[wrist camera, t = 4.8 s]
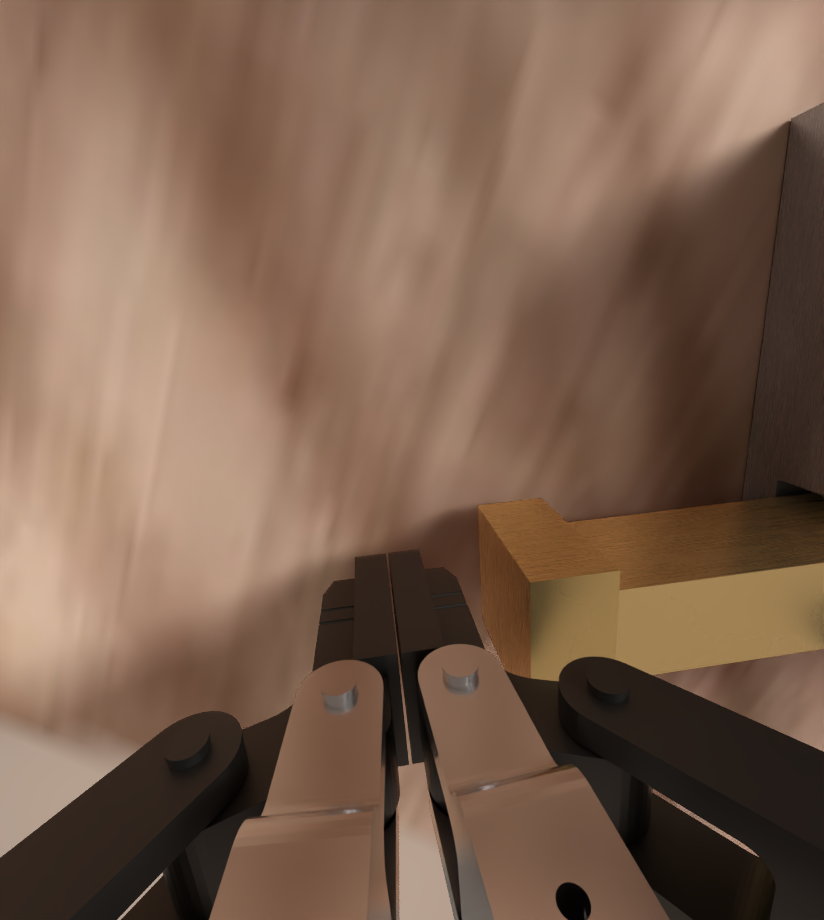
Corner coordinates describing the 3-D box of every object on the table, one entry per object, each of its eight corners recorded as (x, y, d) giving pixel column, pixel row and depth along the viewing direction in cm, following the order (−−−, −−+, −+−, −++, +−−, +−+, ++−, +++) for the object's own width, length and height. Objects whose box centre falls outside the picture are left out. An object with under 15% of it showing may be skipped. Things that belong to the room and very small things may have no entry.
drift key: (890, 457, 12) (1103, 506, 9) (866, 565, 13) (1050, 649, 9) (477, 505, 11) (530, 582, 8) (482, 618, 12) (531, 732, 9)
